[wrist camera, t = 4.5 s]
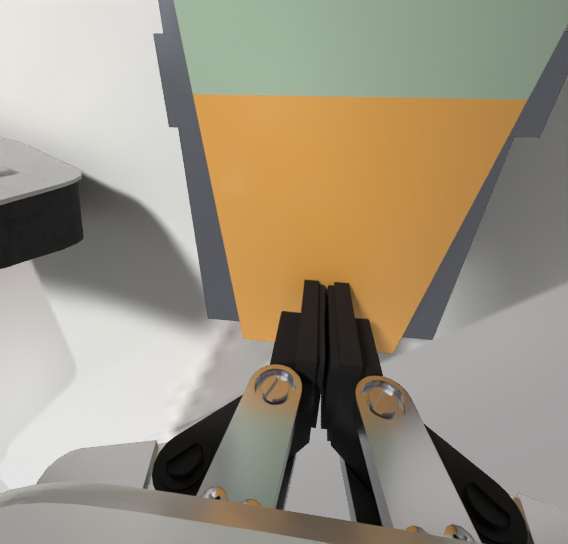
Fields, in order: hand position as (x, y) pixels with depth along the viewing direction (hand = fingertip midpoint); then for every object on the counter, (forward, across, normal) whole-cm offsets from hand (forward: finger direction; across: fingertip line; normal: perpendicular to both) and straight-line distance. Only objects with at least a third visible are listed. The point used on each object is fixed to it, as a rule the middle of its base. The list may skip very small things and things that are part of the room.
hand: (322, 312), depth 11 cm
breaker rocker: (0, 0, -7) cm, 7 cm away
